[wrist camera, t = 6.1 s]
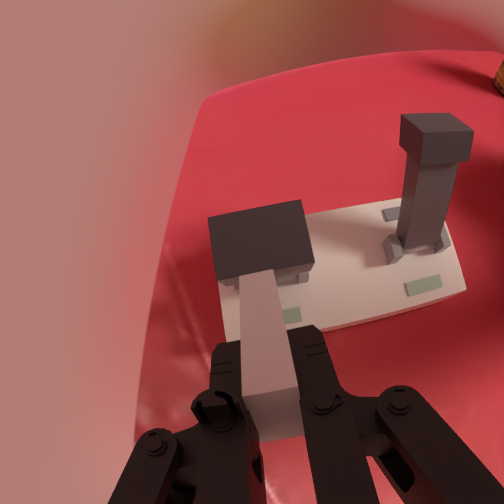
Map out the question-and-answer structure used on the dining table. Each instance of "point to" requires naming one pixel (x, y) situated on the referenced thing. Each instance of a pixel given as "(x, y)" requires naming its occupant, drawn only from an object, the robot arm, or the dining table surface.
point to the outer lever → (261, 242)
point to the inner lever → (429, 173)
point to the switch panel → (359, 272)
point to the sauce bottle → (500, 78)
